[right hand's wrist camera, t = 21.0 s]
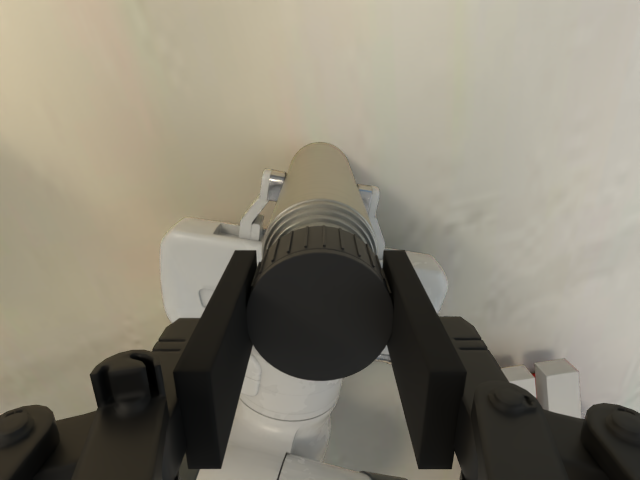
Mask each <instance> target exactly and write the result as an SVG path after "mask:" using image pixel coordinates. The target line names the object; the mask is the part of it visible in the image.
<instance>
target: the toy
mask: <svg viewBox="0 0 640 480" xmlns="http://www.w3.org/2000/svg"><path fill="white" fill-rule="evenodd" d="M534 366H535V373H533V374H531V373H530V372H529V371H528V369H527V368H526V367H525V366H524V365H518V366H511V367H505V368H501V370H502V371H503V373H504V375H505V376H506V378H507V379H508V381H509V382H510V383H513V384H516V385H518V386H520V387H522V388H524V389H526V390H527V391H528V392H530V393H531V394H532V395H533V396H534V397H536V398H537V400H538V401H539V403H540V405H541V406H542V408H543V409H545V410H548V411H551V412H555V413H559V414H563V415H568V416H572V417H576V418H581V400H580V382H579V371H578V370H577V369H576V368H575V367H574V366H573V365H571V364H570V363H569V362H568V361H567V360H566V359H565V358H564V359H558V360H551V361H544V362H538V363H534ZM581 419H582V418H581Z"/></svg>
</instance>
